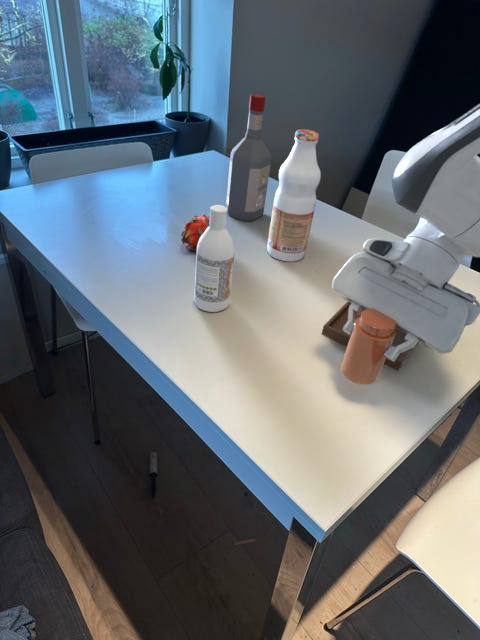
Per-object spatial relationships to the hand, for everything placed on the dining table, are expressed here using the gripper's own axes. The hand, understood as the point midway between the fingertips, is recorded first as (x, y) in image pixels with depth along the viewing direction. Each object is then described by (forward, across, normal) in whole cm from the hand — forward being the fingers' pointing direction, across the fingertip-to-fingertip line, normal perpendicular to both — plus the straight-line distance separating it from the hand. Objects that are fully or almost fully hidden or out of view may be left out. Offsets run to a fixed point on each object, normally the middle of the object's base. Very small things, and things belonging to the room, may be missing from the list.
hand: (366, 345), depth 67 cm
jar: (+4, 0, -4) cm, 6 cm away
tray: (-4, +6, -18) cm, 19 cm away
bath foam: (+8, +32, -6) cm, 34 cm away
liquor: (-17, +59, -31) cm, 69 cm away
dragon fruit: (-1, +51, -15) cm, 53 cm away
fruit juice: (-12, +37, -26) cm, 47 cm away
